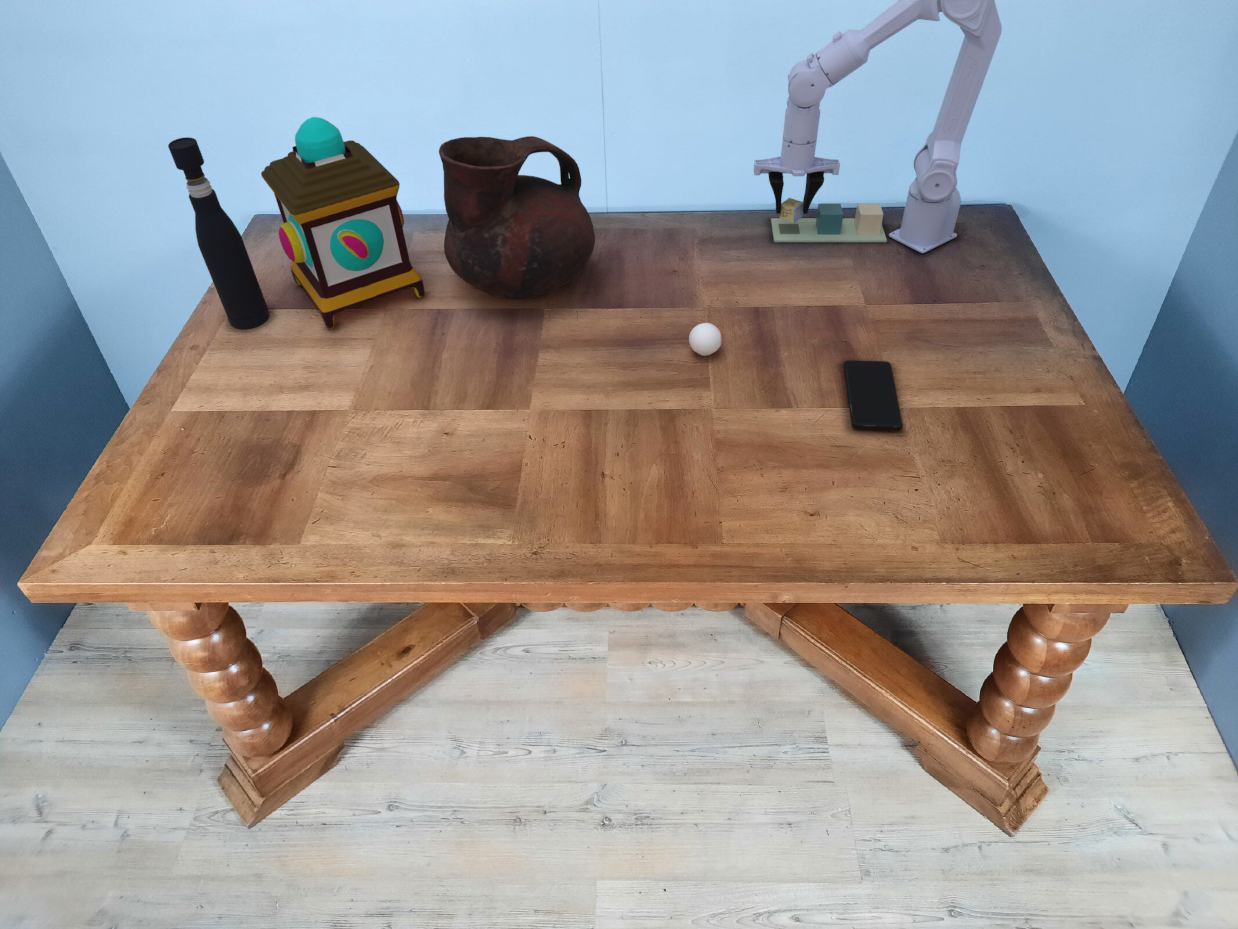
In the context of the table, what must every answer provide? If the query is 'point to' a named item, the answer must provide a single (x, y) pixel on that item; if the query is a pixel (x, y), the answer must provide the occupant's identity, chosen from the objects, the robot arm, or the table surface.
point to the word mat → (808, 232)
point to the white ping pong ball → (705, 339)
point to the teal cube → (829, 219)
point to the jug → (512, 217)
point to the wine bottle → (220, 243)
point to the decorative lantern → (340, 221)
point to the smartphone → (872, 395)
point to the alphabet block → (791, 210)
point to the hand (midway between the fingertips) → (791, 210)
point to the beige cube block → (868, 218)
